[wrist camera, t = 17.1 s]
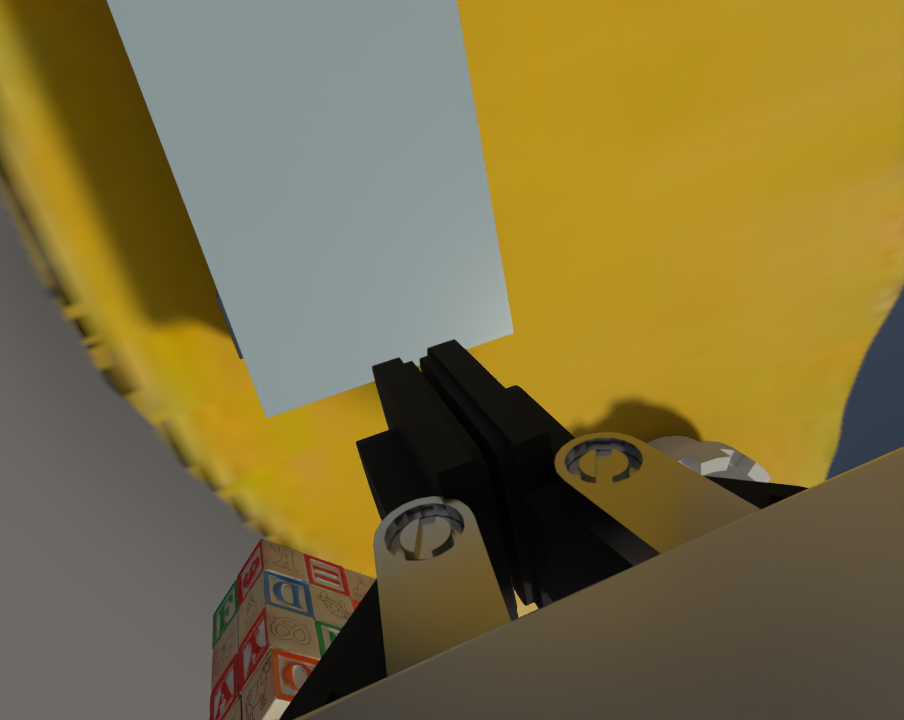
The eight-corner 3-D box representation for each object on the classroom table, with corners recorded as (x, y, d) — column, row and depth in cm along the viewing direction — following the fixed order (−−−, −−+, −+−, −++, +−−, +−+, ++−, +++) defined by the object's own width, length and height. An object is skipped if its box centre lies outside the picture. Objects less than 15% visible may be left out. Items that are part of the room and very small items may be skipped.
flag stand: (680, 572, 53) (1142, 1021, 26) (559, 559, 47) (988, 1109, 21) (749, 439, 50) (1343, 793, 24) (628, 408, 44) (1227, 824, 18)
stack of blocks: (509, 619, 48) (594, 765, 37) (466, 681, 49) (536, 841, 38) (258, 536, 38) (275, 701, 27) (208, 615, 39) (204, 806, 28)
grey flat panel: (-24, -336, 19) (-49, -385, 17) (374, -352, 22) (388, -394, 21) (259, 401, 31) (262, 419, 29) (497, 321, 34) (513, 332, 32)
